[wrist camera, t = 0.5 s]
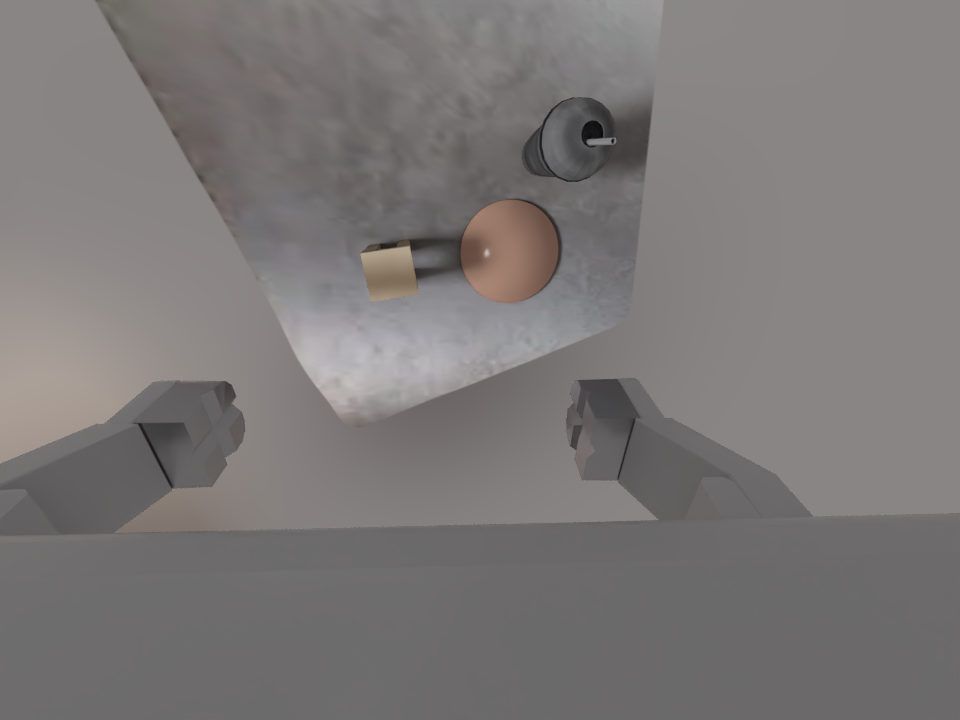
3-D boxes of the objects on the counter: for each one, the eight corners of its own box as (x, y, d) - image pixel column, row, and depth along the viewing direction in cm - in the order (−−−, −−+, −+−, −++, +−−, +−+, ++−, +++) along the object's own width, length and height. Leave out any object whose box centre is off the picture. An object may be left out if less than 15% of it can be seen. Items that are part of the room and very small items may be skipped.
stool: (368, 245, 50) (360, 253, 41) (409, 239, 51) (409, 246, 41) (377, 285, 52) (371, 301, 43) (416, 279, 53) (418, 294, 43)
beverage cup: (574, 128, 50) (673, 80, 31) (560, 192, 52) (646, 183, 33) (516, 115, 48) (585, 56, 30) (505, 182, 50) (563, 166, 32)
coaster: (453, 207, 50) (453, 207, 50) (553, 193, 52) (555, 193, 51) (467, 309, 55) (468, 310, 54) (559, 293, 56) (561, 294, 56)
